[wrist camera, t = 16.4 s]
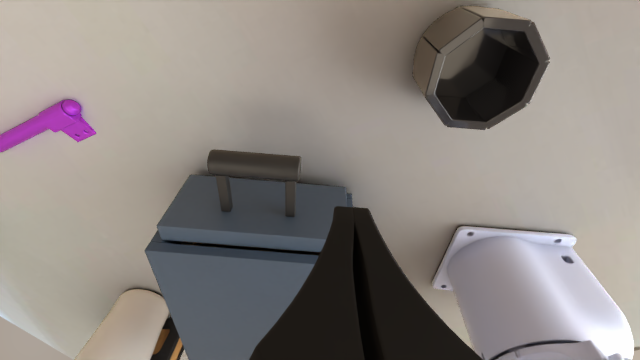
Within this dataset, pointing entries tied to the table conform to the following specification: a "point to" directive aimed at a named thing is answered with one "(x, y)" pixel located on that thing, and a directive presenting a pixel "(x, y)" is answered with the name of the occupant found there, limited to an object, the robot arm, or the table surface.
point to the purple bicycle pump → (50, 125)
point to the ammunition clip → (168, 343)
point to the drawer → (252, 206)
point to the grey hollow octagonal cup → (479, 65)
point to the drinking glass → (128, 328)
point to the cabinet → (225, 293)
